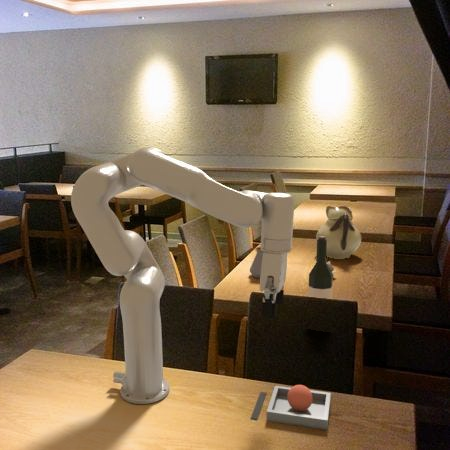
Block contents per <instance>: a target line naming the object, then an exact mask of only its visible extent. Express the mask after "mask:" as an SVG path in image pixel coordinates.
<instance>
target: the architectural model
mask: <svg viewBox="0 0 450 450" xmlns="http://www.w3.org/2000/svg"><path fill="white" fill-rule="evenodd" d="M326 263H327V265H328V266H329V268H330V270H331V272H332V273H333V275H334V273H336V272H337V270H336V269H334V268H335V267H334V266H333V265H332V264H331V261H328V262H327V261H326Z"/></svg>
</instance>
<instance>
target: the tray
mask: <svg viewBox="0 0 450 450" xmlns="http://www.w3.org/2000/svg"><path fill="white" fill-rule="evenodd" d="M273 388H274V389H273V391H272V393H271V397H270V399H269V403H268V406H267V410H266V422H270V423H277V424H283V425H284V424H285V425H290V426H296V427H297V426H298V427H304V428H310V429H316V430H317V429H318V430H322V431H323V430H325V431H328V428H329V426H328V425H329V418H330V417H329V416H330V411H331V410H330V409H331V398H332V397H331V396H332V393H331V392H326V391H319V390H313V389H312V390H311V389H309V390H310V391H311V393H312V398H313V399H312V404H311V406H310V407H309V408H308V409H307V410H304V411H297V410H294V409H293V408H292V407H291V406H290V405H289V403H288V399H287V396H288V392H289V390H290V389H291V388H292V387H287V386H282V385H275V386H274V387H273Z"/></svg>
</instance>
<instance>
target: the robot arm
mask: <svg viewBox="0 0 450 450" xmlns="http://www.w3.org/2000/svg"><path fill="white" fill-rule="evenodd" d="M140 186H146V187H148V188H150V189H152V190H155V191H158V192H161V193H163V194H166V195H168V196H170V197H173V198H175V199H177V200H180V201H182V202H185V203H187V204H188V205H190V206H191V207H194V208H195V209H198V210H200V211H202V212H203V213H205V214H208V215H209V216H211V217H214V218H216V219H218V220H220V221H223V222H225V223H228V224H231V225H233V226H235V227H239V228H243V229H245V228H246V229H248V228H249V229H250V228H252V227H254V226H256V225H258V223H260V222H261V232H260V233H261V236H260V247H261V250H262V251H264V252H263V257H262V265H261V276H260V278H259V289H258V290H259V291H260V292H263V297H262V307H261V310H262V311H261V317H262V318H266V319H273V320H274V319H276V316H277V313H276V311H277V305H281V306H282V305H283V304H284V296H285V295H284V294H285V293H284V291H285V289H284V286H285V284H286V279H287V269H288V268H287V267H288V265H287V264H288V263H287V262H288V253H291V252H292V250H293V249H292V247H293V234H294V233H293V231H294V215H295V213H294V212H295V198H294V196H293V195H292V194H289V193H285V192H268V193H267V192H261V191H256V190H249V189H248V190H247V189H245V190H241V191H237V190H235V189H233V188H230V187H228V186H225V185H223V184H222V183H220V182H217V181H216V180H214V179H213V178H211V177H210V176H209V175H207V173H205V172H204V171H203V170H202V169H200V168H199V167H195V166H193V165H191V164H188V163H185V162H184V161H181V160H178V159H175V158H172V157H171V156H169V155H165V153H164V152H163V151H162V150H161V149H159V148H157V147H155V146H146V147H142V148H139V149H136V150H135V151H134V152H132V153H130V154H127V155H124V156H122V157H119V158H116V159H113V160H111V161H108V162H105V163H102V164H100V165H95V166H92V167H90V168H88V169H86V171H84V172H83V173H82V174H81V175H80V176H79V177H78V179H77V180H76V182H75V183H74V185H73V188H72V191H71V194H70V195H71V196H70V204H71V208H72V212H73V214H74V217H75V218H76V220H77V222H78V224H79V226H81V228H82V230H83V232H84V234H85V235H86V237H87V239H88V241H89V242H90V244H91V246H92V248H93V249H94V251H95V253H96V255H97V257H98V258H99V260H100V262H101V263H102V265H103V267H104V268H105V270H106V271H107V272H109V273H110V275H113V276H116V277H122V276H124V277H125V279H126V281H125V282H124V283H123V286H122V287H121V290H120V293H119V307H120V313H121V318H122V320H121V321H122V331H123V344H124V345H123V346H124V347H123V348H124V349H123V350H124V366H125V372H122V371H118V370H114V372H113V374H112V377H113V383H114V384H121V385H122V386H121V387H120V396H121V398H122V400H124V401H126V402H128V403H129V404H130V403H131V404H136V405H148V404H153V403H157V402H159V401H160V400H163V399H164V398H165V397H166V396H167V395H168V394H169V393H170V383H169V382H168V380H166V379H165V378H164V368H163V367H164V366H163V364H164V362H163V338H162V336H163V335H162V319H161V311H160V301H161V300H160V299H161V297H162V295H163V292H164V289H165V285H166V279H165V276H164V273H163V271H162V269H161V267H160V266H159V264H158V262H157V260H156V259H155V257H154V255H153V253H152V251H151V249H150V248H149V246H148V245H147V242H146V241H145V239H143V237H142V236H141V235H140V234H139V233H137V232H136V231H132V230H128V229H127V230H126V229H124V227H123V226H122V224H121V222H120V219H119V218H118V217H117V215H116V213H115V212H114V211H113V210H112V209H111V207H110V206H109V205H110V204H109V201H110V200H111V199H112V198H114V197H116V196H118V195H120V194H122V193H124V192H128V191H130V190H133V189H135V188H138V187H140Z"/></svg>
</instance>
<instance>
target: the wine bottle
mask: <svg viewBox="0 0 450 450" xmlns="http://www.w3.org/2000/svg"><path fill="white" fill-rule="evenodd" d="M326 253H327V239H326V237H325V236H319V237H318V239H317V240H316V258H315V259H316V263H315V264H314V266H313V267H312V269H311V270H310V272H309V273H308V294H307V295H308V296H307V297H317V298H327V299H332V300H333V279H334V274H333V273H332V272H331V270H330V268H329V266H328V265H327V257H326Z"/></svg>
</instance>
